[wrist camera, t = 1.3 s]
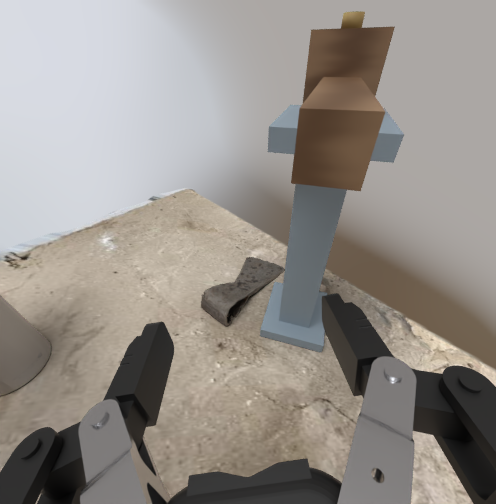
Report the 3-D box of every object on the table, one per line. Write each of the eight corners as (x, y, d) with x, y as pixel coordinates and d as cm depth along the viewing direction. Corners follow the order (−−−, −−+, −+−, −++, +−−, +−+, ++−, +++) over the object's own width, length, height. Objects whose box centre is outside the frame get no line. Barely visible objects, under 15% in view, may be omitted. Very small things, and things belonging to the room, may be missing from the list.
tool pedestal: (260, 336, 40) (268, 126, 19) (274, 288, 48) (290, 104, 27) (321, 352, 38) (404, 134, 17) (324, 299, 46) (384, 108, 25)
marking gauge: (259, 179, 11) (264, -56, 7) (307, 106, 27) (318, 19, 22) (398, 195, 10) (521, -88, 5) (364, 108, 25) (389, 15, 21)
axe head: (253, 244, 57) (290, 259, 52) (251, 261, 59) (286, 277, 55) (188, 288, 42) (232, 314, 37) (190, 308, 45) (231, 335, 40)
